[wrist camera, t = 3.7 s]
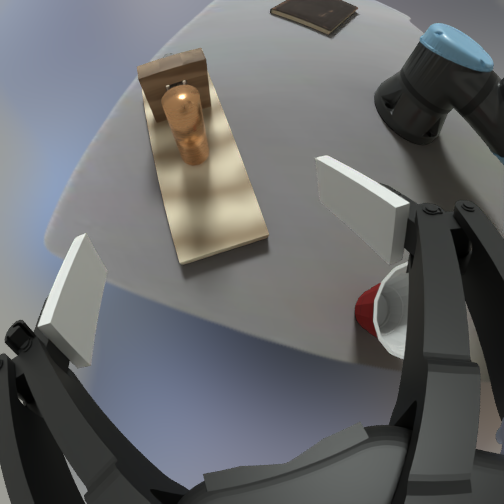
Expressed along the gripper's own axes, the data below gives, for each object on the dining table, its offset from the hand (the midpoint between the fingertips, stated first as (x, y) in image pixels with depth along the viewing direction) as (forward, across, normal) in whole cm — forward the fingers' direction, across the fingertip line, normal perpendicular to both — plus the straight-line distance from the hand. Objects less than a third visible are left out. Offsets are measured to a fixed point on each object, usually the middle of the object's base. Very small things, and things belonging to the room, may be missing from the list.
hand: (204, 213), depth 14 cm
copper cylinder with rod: (+31, +1, +3) cm, 31 cm away
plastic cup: (+8, +18, -25) cm, 32 cm away
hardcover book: (+56, +42, +24) cm, 74 cm away
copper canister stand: (+29, +1, -3) cm, 29 cm away
